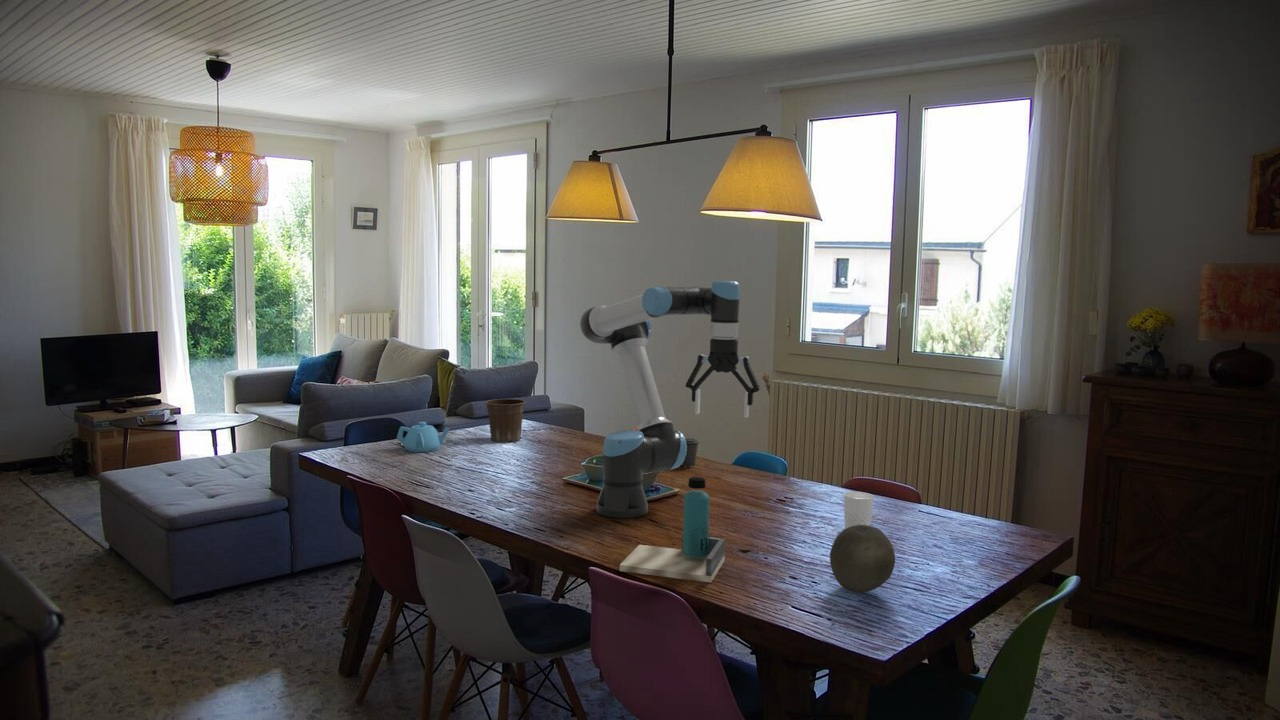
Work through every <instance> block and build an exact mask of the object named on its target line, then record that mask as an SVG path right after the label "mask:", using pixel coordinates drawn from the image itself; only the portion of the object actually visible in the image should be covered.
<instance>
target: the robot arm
mask: <svg viewBox="0 0 1280 720" xmlns="http://www.w3.org/2000/svg"><path fill="white" fill-rule="evenodd" d="M740 295H741V294H740V283H739V282H737V281H734V280H731V281H727V280H714V281H713V282H712V283H711V287H703V286H702V287H701V286H683V287H682V286H681V287H676V286H673V287H672V286H661V285H660V286H659V285H658V286H655V287H654V286H653V287H647V288H646V289H645V292H643V293H642V294H638V295H636V296H634V297H631V298H628V299H624V300H621V301H618V302H616V303H613V304H609V305H607V306H606V305H602V304H601V305H596V306H593V307H589V308H588V309H587V310H585V312H583V314H582V316H581V317H580V322H579V327H580V330H581V333H582V334H583V336H584V337H585V338H586V339H587V340H588V341H590V342H592V343H595V344H602V345H603V344H605V345H607V344H610V347H611V350H612V353H613V354H615V355H617V356H618V358H619V361H620V364H621V368H622V371H623V375H624V378H625V382H626V387H627V388H628V389H627V390H628V392H629V398H630V399H631V404H632V407H633V410H634V413H635V417H636V421H637V425H638V427H637V429H636V430H635V429H628V430H624V429H623V430H618V431H615V432H611V433H609V434H607V436H606V437H605V438H604V441H603V448H602V454H603V456H602V457H603V460H602V462H603V463H602V464H603V465H602V466H603V467H602V486H601V490H600V493H599V496H598V499H597V502H596V512H597V514H599V515H601V516H604V517H608V518H615V519H633V518H638V517H641V516H642V517H643V516H644V515H646V514H648V513H649V503H648V501H647V497H646V494H645V490H644V487H643V478H644V477H643V476H644V475H645V474H651V473H657V472H663V471H664V472H667V471H670V470H674V469H677V468H679V467H681V466H680V465H681V464H682V463H683V462H684V459H685V456H686V452H687V444H686V440H685V439H686V437H685V436H684V434H683V433H682V432H681V431H679V430H677V429H675V428H674V426H673V425H674V424H673V422H672V421H671V420H669V419H668V418H666V415H665V412H664V408H663V405H662V401H661V398H660V394H659V390H658V387H657V383H656V381H655V378H654V375H653V371H652V366H651V364H650V360H649V357H648V354H647V350H646V347H647V346H648V343H649V338H650V336H651V334H652V331H651V329H652V323H651V320H655V319H657V318H661V317H665V316H673V315H679V316H680V315H681V316H682V315H706V316H707V315H708V316H710V332H709V336H710V337H712V338H710V339H709V354H708V355H705V354H702V353H701V354H699V355H697V362H696V364H695V366H694V368H693V370H692V371H691V373H690V375H689V377H688V379H687V381H686V383H685V387H686V388H689V389H690V390H691V401H692V402H694V406H695V407H694V415H699V414H700V412H701V389H699V388H700V386H701V385H702V384H703V383H704V382H705V381H706V380H707V378H709V377H710V376H711V374H712V373H713V372H714V371H715V372H717V373H722V372H723V373H731V374H732V375H734V377H735V379H737V380H738V382H739V383H740V384H741V386H742V387H743V388H744V389H745V391H746V392H745V393H744V404H743V405H744V406H743V409H744V411H743V418H746V419H747V418H748V417H749V411H750V410H749V409H750V406H752V405H753V402H754V393H756V392H759V391H760V390H761V386H760V385H759V383H758V380H757V377H756V376H755V374H754V372H753V369H752V367H751V363H750V358H749V357H750V356H743V357H739V355H738V351H739V350H738V348H739V341H738V339H737V338H738V337H739V317H740V316H739V315H740V314H739V313H740V298H741V296H740ZM707 361H708V363H709V364H710V366H709V367H708V368H707V369H706V371H705V372H704V373H703V374H702V375H701V377H699V378H698V379H697V380H696V378H697V375H698V374H699V372H700V370H701V368H702V366H703V365H704V364H706V362H707ZM738 363H740V364H741V366H743V367H744V369H745V373H746V375H747V376H748V379H749V382H750V383H751V385H750V383H749V382H748V381H747V380H746V377H744V375H743V374H742V373H741V371H740V370H739V368H738V367H737V364H738ZM695 380H696V382H695V383H694V381H695Z"/></svg>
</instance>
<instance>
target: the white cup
mask: <svg viewBox="0 0 1280 720" xmlns="http://www.w3.org/2000/svg"><path fill="white" fill-rule="evenodd" d="M843 496H844V498H843V500H844V501H843V503H844V505H843V506H844V507H843V511H844V513H843V515H844V517H843V518H844V530H845V529H846V528H848V527H851V526H855V525H868V526H871V523H872V517H873V515H872V514H873V507H874V495H873V494H872V493H868V492H863V491H846V492H844V494H843Z"/></svg>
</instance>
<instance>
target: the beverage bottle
mask: <svg viewBox="0 0 1280 720" xmlns="http://www.w3.org/2000/svg"><path fill="white" fill-rule="evenodd" d="M687 485H688V488H690V489H692V490H688V491H687V492H686V493H684V495H683V522H682V526H683V527H682V529H683V530H682V535H681V538H682V537H683V540H682V539H681V542H682V541H683V546H682V545H681V550H682V549H683V553H684V554H685V555H686V556H690V557H704V556H706V555H708V546H709V537H710V499H711V498H710V495H709V494H708V493H707V492H706V491H705V490H701V489H705V488H706V479H705V478H704V477H699V476H691V477H689V479H688V484H687ZM682 547H683V548H682Z"/></svg>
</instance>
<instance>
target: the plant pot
mask: <svg viewBox="0 0 1280 720" xmlns="http://www.w3.org/2000/svg"><path fill="white" fill-rule="evenodd" d="M485 404H486V409H487V413H488V423H489V432H490V440H491V441H492V442H496V443H509V442H512V443H515V442H518V441H520V440H521V438H522V427H523V426H522V425H523V415H524V413H523V412H524V409H525V404H526V400H525V399H519V398H518V399H517V398H499V399H498V398H496V399H489V400H487V401H485Z"/></svg>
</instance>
